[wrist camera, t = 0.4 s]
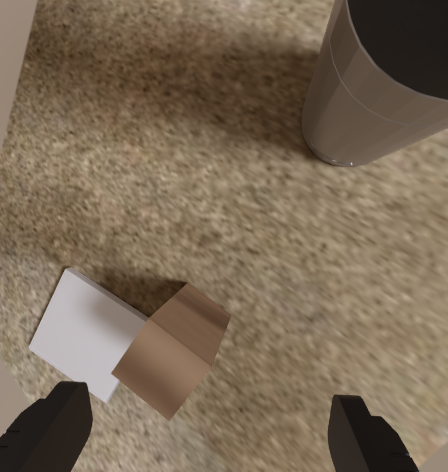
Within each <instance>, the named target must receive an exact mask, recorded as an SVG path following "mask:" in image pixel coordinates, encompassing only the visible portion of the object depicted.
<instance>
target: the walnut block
mask: <svg viewBox="0 0 448 472" xmlns="http://www.w3.org/2000/svg"><path fill="white" fill-rule="evenodd" d="M230 318H231V314H229V313H228V312H227V311H225V310H224V309H223V308H221V307H220V306H219V305H217V304H216V303H215V302H213V301H212V300H211V299H209V298H208V297H207V296H205V295H204V294H203V293H201V292H200V291H199V290H197V289H196V288H195V287H193V286H192V285H191V284H189V283H187V284H186V285H185V286H184V287H183V288H182V289H180V290H179V291H178V292H177V293H176V294H175V295H174V296H173V297H172V298H170V299H169V300H168V301H167V302H166V303H165V304H164V305H163V306H162V307H161V308H159V309H158V310H157V311H156V312H155V313H154V314H153V315H152V316H151V317H149V318H148V320H147V321H146V323H145V324H144V326H143V327H142V329H141V330H140V332H139V333H138V334H137V336H136V337H135V339H134V340H133V342H132V343H131V345H130V346H129V348H128V349H127V351H126V352H125V353H124V355H123V356H122V358H121V359H120V361H119V362H118V364H117V365H116V367H115V368H114V370H113V371H112V372H111V374H112V375H113V376H114V377H116V378H117V379H118V380H119V381H121V382H122V383H123V384H124V385H126V386H127V387H128V388H129V389H131V390H132V391H133V392H134V393H136V394H137V395H138V396H139V397H140V398H142V399H143V400H144V401H145V402H147V403H148V404H149V405H150V406H152V407H153V408H154V409H155V410H157V411H158V412H159V413H160V414H162V415H163V416H164V417H165V418H166V419H168V420H169V421H170V419H171V418H172V417H173V416H174V414H175V413H176V412H177V410H178V409H179V408H180V407H181V405H182V404H183V403H184V401H185V400H186V399H187V398H188V396H189V395H190V394H191V392H192V391H193V390H194V389H195V387H196V386H197V385H198V383H199V382H200V381H201V380H202V378H203V377H204V376H205V374H206V373H207V372H208V371H209V369H210V368H211V367H212V364H213V362H214V359H215V356H216V354H217V351H218V349H219V346H220V343H221V341H222V338H223V336H224V333H225V331H226V328H227V325H228V323H229V320H230Z"/></svg>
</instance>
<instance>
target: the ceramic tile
mask: <svg viewBox="0 0 448 472" xmlns="http://www.w3.org/2000/svg"><path fill="white" fill-rule="evenodd" d="M147 320H148V317H147V316H145V315H144V314H142V313H141V312H139V311H138V310H136V309H135V308H133V307H132V306H130V305H129V304H127V303H126V302H124V301H122V300H121V299H119V298H118V297H116V296H115V295H113V294H112V293H110V292H109V291H107V290H106V289H104V288H103V287H101V286H100V285H98V284H97V283H95V282H93V281H92V280H90V279H89V278H87V277H86V276H84V275H83V274H81V273H80V272H78V271H77V270H75V269H74V268H72V267H70V268H67V269H65V271H64V273H63V275H62V277H61V279H60V281H59V283H58V286H57V288H56V290H55V292H54V294H53V296H52V298H51V301H50V303H49V305H48V307H47V309H46V311H45V314H44V316H43V318H42V320H41V322H40V324H39V326H38V329H37V331H36V333H35V335H34V337H33V339H32V341H31V344H30V346H29V348H28V349H30V350H31V351H33V352H34V353H35V354H37V355H38V356H40V357H41V358H42V359H44V360H45V361H47V362H48V363H50V364H51V365H52V366H54V367H55V368H57V369H58V370H59V371H61V372H62V373H64V374H65V375H67V376H68V377H69V378H71V379H72V380H74V381H75V382H86V383H87V386H88V391H89V392H91V393H92V394H94V395H95V396H96V397H98V398H99V399H101V400H102V401H104V402H105V403H107V402H108V400H109V399H110V398H111V397H112V395H113V393H114V391H115V389H116V388H117V386H118V384H119V382H120V381H119V380H118V379H117V378H116V377H114V376H113V375H112V374H111V372H112V371H113V370H114V368H115V367H116V365H117V364H118V362H119V361H120V359H121V358H122V356H123V355H124V353H125V352H126V351H127V349H128V348H129V346H130V345H131V343H132V342H133V340H134V339H135V337H136V336H137V334H138V333H139V332H140V330H141V329H142V327H143V326H144V324H145V323H146V321H147Z"/></svg>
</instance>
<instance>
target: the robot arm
mask: <svg viewBox="0 0 448 472" xmlns="http://www.w3.org/2000/svg"><path fill="white" fill-rule="evenodd" d="M301 128H302V133H303V136H304V139H305V141H306V143H307V145H308V147H309V148H310V149H311V151H312V152H313V153H314V154H315V155H316V156H317V157H319V158H320V159H322V160H323V161H325V162H327V163H330V164H332V165H336V166H341V167H355V166H360V165H364V164H367V163H369V162H372V161H374V160H376V159H378V158H381V157H383V156H386V155H388V154H390V153H393V152H395V151H397V150H400V149H402V148H404V147H406V146H409V145H411V144H413V143H415V142H418V141H420V140H422V139H424V138H427V137H429V136H431V135H433V134H436V133H438V132H440V131H442V130H445V129H447V128H448V0H335V1H334V5H333V8H332V12H331V15H330V18H329V22H328V25H327V28H326V32H325V35H324V38H323V42H322V45H321V49H320V52H319V55H318V59H317V62H316V65H315V69H314V72H313V76H312V79H311V82H310V86H309V89H308V92H307V95H306V99H305V102H304V105H303V109H302V115H301ZM92 422H93V416H92V410H91V404H90V397H89V391H88V386H87V383H86V382H73V381H61V382H59V383H58V384H57V385H56V386H55V387H54V389H53V390H52V391H51V392H50V394H49V395H48V396H47V397H46V399H38V400H37V401H36V402H35V403H33V404H32V405H31V406H29V407H28V408H27V409H25V410H24V411H23V412H21V414H20V415H19V416H18V417H17V418H16V419H15V421H14V422H13V423H12V424H11V426H10V427H9V428H8V429H7V430H6V433H5V434H3V435H2V436H1V437H0V472H71V470H72V468H73V466H74V464H75V463H76V461H77V459H78V457H79V455H80V453H81V451H82V449H83V447H84V446H85V444H86V442H87V440H88V437H89V435H90V432H91V428H92ZM328 444H329V450H330V454H331V457H332V461H333V464H334V467H335V470H336V472H419V470H418V468H417V466H416V465H415V463H414V461H413V459H412V458H410V456H409V452H408V451H407V449H406V447H405V445H404V444H403V442H402V440H401V438H400V437H399V435H398V433H397V432H396V431H395V430H394V429H393V428H392V427H391V426H390V425H389V424H388V423H387V422H386V421H385V420H384V419H383V418H382V417H381V416H371V415H370V413H369V411H368V409H367V407H366V405H365V403H364V401H363V399H362V398H361V397H360V396H355V395H334V396H333V399H332V406H331V412H330V419H329V426H328Z"/></svg>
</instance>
